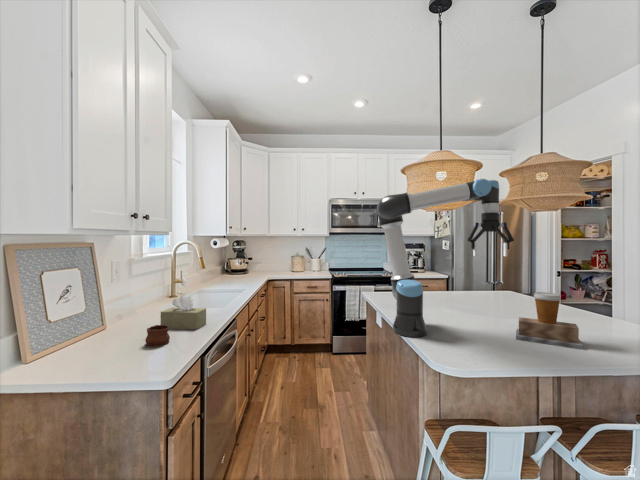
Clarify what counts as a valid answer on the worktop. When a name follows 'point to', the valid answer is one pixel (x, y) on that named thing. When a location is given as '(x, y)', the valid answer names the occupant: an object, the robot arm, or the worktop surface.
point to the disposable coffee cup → (547, 307)
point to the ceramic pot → (157, 335)
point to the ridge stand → (549, 333)
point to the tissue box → (183, 315)
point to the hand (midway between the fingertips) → (490, 256)
